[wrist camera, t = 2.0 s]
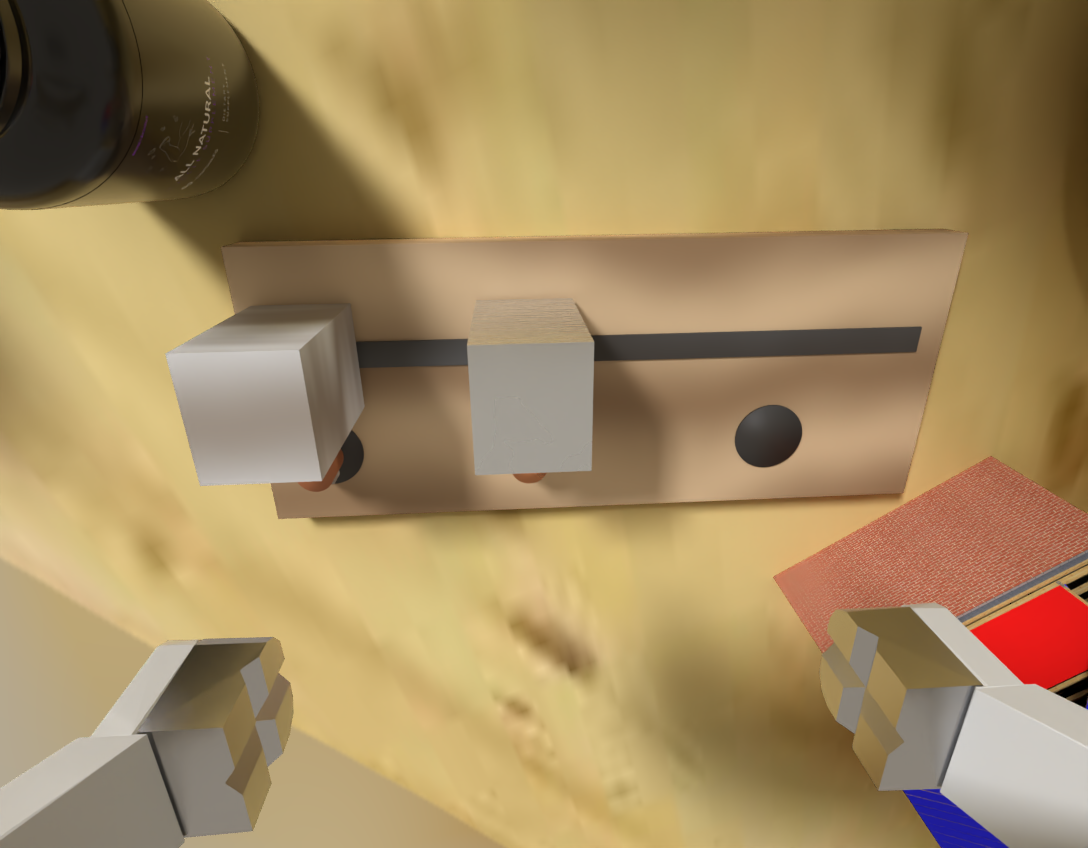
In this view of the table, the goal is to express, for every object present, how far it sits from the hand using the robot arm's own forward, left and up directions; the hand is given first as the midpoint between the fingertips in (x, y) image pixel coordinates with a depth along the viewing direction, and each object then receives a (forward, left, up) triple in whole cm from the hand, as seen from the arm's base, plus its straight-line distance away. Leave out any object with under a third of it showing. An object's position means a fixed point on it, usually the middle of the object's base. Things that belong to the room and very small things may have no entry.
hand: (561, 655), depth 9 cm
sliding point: (+1, 0, -15) cm, 15 cm away
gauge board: (+1, +3, -17) cm, 17 cm away
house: (+17, +22, -18) cm, 33 cm away
